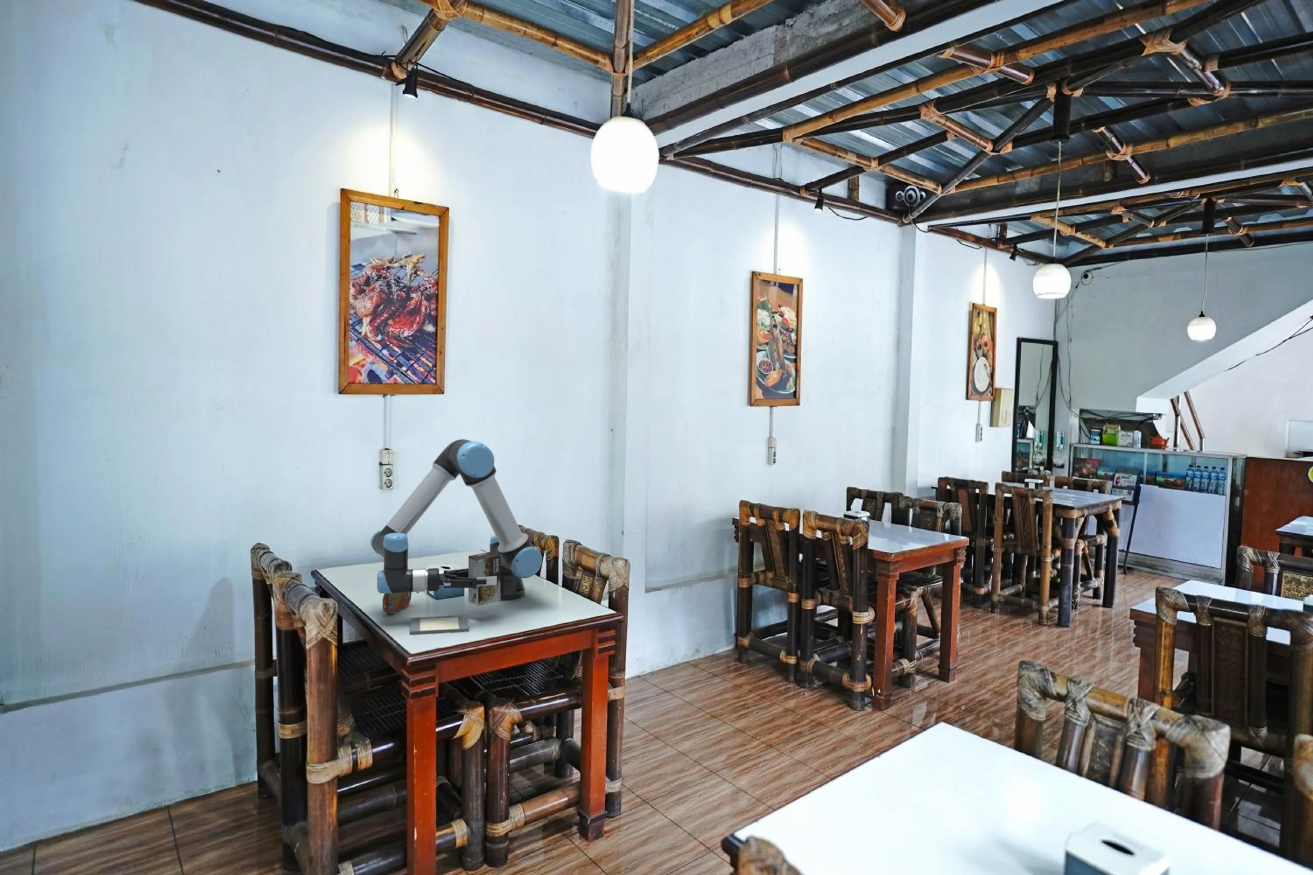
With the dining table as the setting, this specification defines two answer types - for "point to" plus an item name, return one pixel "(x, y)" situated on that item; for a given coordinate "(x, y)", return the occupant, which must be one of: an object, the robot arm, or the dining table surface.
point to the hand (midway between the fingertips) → (495, 576)
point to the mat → (438, 624)
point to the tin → (395, 602)
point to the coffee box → (484, 567)
